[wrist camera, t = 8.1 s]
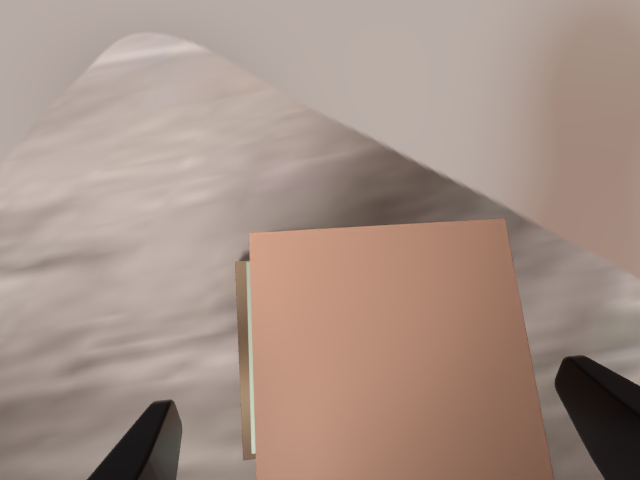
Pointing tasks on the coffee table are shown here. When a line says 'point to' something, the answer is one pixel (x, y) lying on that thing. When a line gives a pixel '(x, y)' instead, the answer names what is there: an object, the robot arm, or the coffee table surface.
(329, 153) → the coffee table surface
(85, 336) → the coffee table surface
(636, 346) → the coffee table surface
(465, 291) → the tall block
